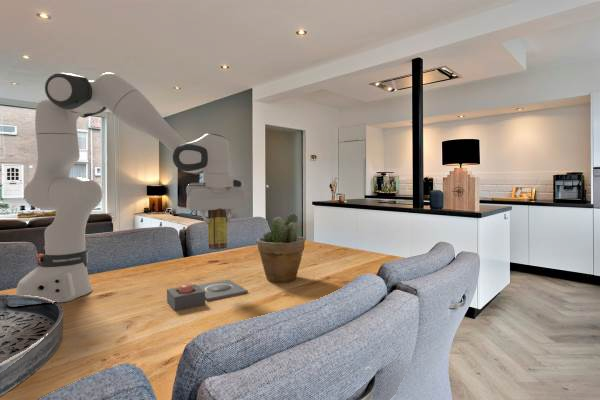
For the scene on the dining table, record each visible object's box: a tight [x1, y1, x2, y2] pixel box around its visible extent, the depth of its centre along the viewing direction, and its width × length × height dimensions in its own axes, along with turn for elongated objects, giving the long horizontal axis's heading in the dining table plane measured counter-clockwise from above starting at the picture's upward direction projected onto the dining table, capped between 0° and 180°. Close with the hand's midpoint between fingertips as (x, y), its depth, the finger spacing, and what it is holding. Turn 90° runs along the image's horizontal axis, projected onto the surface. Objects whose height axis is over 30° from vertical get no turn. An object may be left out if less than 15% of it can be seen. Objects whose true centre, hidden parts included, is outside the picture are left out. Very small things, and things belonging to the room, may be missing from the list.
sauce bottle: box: [207, 208, 228, 250], centre depth 116 cm, size 6×6×20 cm
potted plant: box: [256, 212, 306, 284], centre depth 130 cm, size 18×19×25 cm
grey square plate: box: [196, 279, 249, 302], centre depth 117 cm, size 14×16×1 cm
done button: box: [178, 283, 194, 294], centre depth 104 cm, size 4×4×3 cm
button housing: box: [166, 284, 206, 311], centre depth 104 cm, size 9×9×4 cm
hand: (217, 223), depth 115 cm, fingers closed on sauce bottle, 6 cm apart
